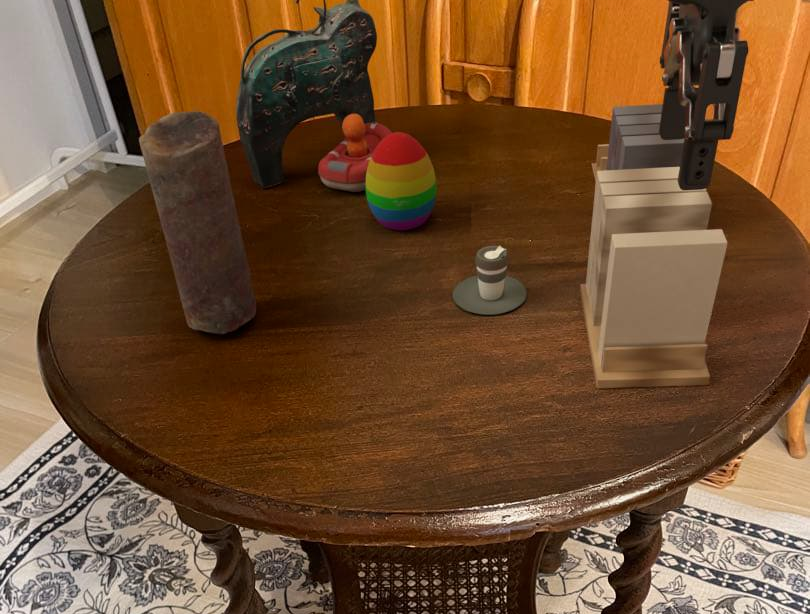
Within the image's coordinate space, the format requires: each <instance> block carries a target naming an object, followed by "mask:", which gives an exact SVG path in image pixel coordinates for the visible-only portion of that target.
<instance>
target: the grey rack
mask: <svg viewBox="0 0 810 614" xmlns="http://www.w3.org/2000/svg"><path fill="white" fill-rule="evenodd" d="M662 106H663V103H656V104H637V105H622V106H621V105H620V106H613V107H612V111H611V112H612V113H611V120H610V130H609V140H608V143H607V144H604V143H603V144H598V145H597V153H596V159H595V162H591V168H592V172H593V177H594V180H595V182H596V176H597V171H605V170H625V169H645V168H665V167H680V163H681V157H682V151H683V145H684V139H685V138H684V139H676V140H663V139H662V138H661V136H660V134H659V127H660V120H661V113H662ZM705 120H707V119H706V118H705Z"/></svg>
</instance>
